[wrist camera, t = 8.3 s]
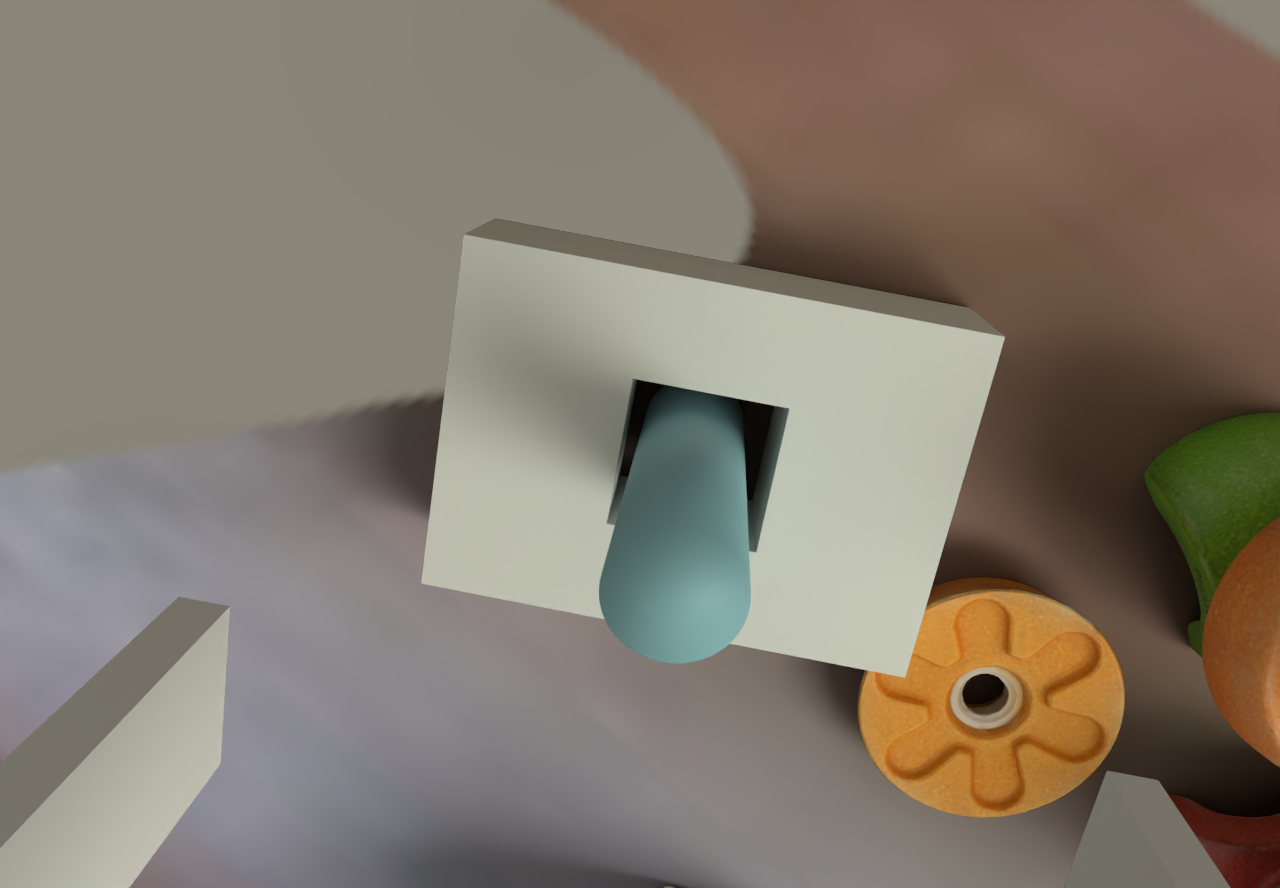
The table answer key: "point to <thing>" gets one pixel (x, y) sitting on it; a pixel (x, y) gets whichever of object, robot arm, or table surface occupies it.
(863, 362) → the socket block
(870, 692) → the colourful stacking toy
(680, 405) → the peg
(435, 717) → the table surface
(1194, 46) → the table surface
